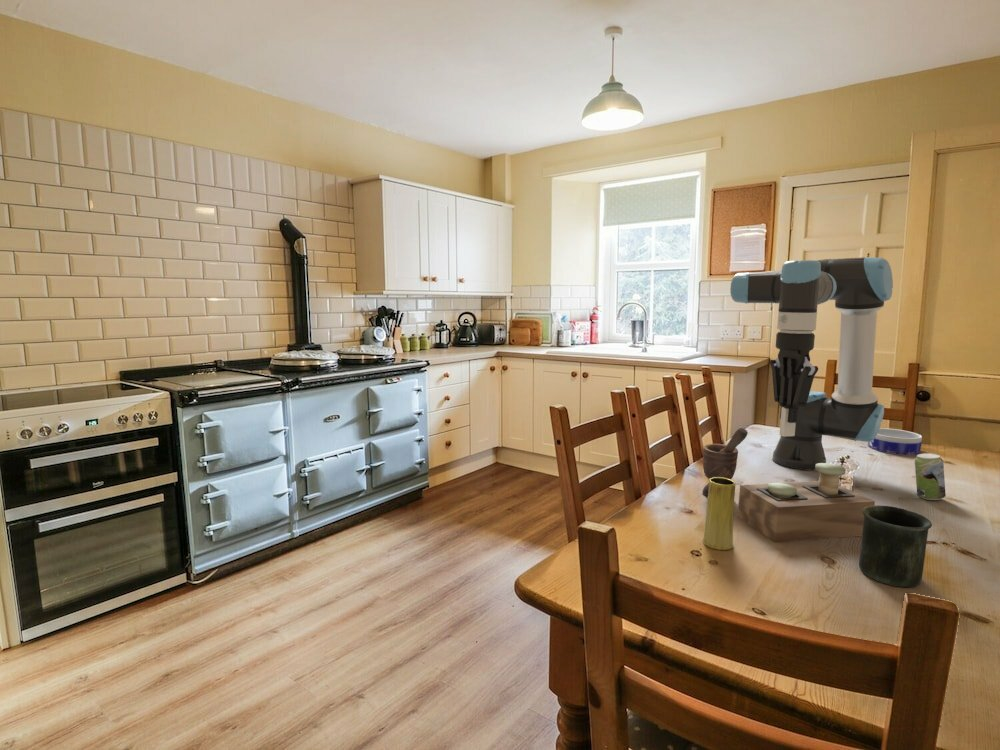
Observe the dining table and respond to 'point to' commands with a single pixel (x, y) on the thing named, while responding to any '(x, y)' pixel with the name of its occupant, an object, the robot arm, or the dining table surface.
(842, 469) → the peg
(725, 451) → the mortar and pestle
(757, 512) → the socket block
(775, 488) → the peg
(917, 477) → the beverage can
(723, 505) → the vase
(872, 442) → the dog bowl
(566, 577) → the dining table surface
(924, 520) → the mug
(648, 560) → the dining table surface
